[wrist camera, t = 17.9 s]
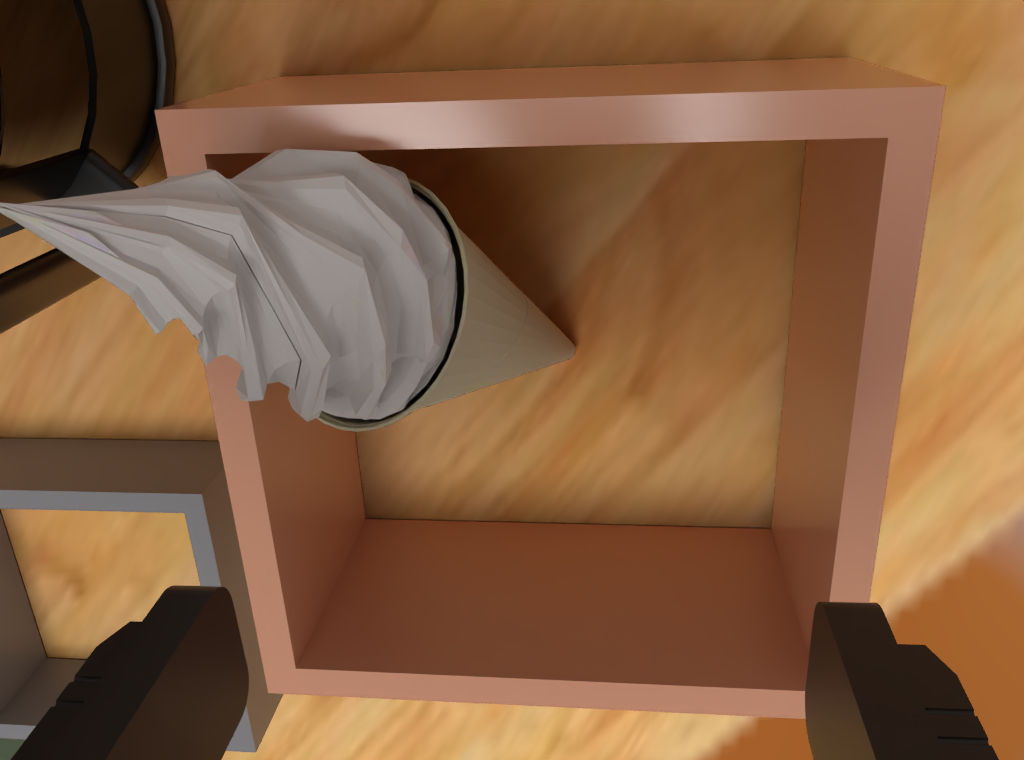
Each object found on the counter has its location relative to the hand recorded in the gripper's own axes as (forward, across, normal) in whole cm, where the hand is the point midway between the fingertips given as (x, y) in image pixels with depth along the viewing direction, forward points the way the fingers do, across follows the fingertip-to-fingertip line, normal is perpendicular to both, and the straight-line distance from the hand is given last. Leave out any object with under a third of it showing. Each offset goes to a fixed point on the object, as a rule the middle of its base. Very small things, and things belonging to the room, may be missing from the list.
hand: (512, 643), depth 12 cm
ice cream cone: (+13, 0, +1) cm, 13 cm away
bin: (+13, 0, 0) cm, 13 cm away
